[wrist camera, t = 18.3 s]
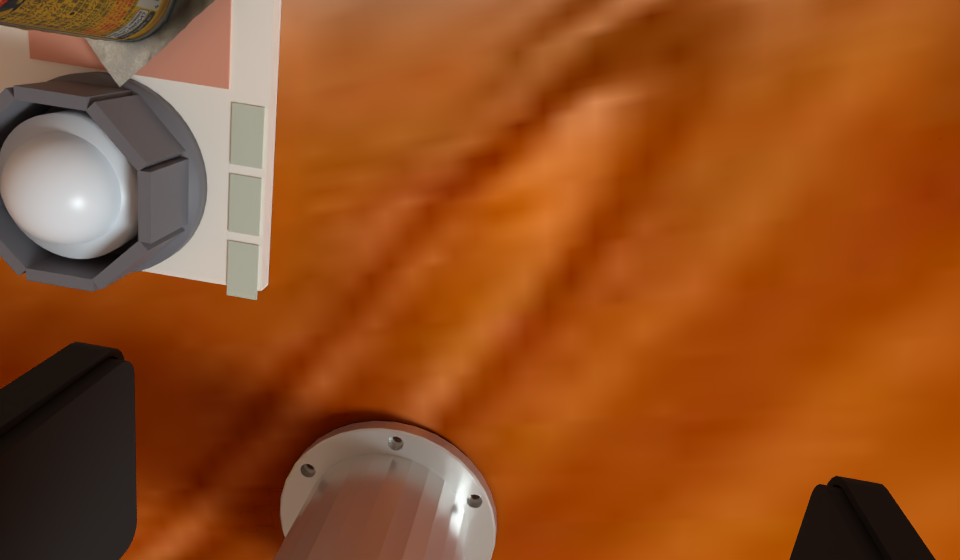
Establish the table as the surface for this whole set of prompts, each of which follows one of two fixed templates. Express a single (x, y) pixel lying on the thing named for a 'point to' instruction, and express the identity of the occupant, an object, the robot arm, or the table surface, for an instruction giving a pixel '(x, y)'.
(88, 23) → the condiment
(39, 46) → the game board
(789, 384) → the table surface
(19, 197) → the dome
